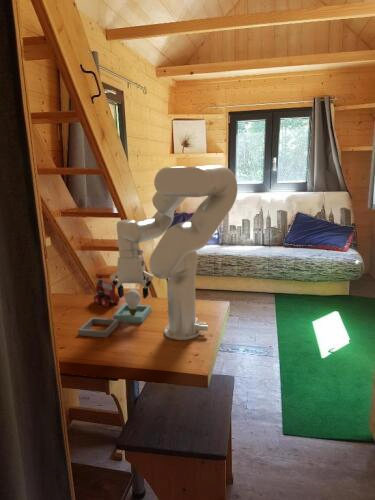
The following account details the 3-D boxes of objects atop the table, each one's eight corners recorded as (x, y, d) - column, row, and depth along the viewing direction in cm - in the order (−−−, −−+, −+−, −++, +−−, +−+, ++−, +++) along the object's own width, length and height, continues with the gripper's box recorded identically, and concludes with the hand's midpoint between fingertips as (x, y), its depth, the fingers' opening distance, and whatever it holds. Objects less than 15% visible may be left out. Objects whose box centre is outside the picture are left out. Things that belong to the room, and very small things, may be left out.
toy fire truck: (104, 297, 166) (102, 275, 163) (122, 304, 158) (120, 280, 155) (91, 302, 161) (89, 279, 158) (108, 309, 153) (106, 285, 150)
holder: (118, 324, 139) (118, 319, 138) (106, 337, 129) (106, 332, 128) (92, 322, 141) (91, 317, 141) (78, 335, 131) (78, 329, 131)
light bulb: (126, 318, 142) (125, 293, 139) (124, 312, 147) (123, 287, 145) (141, 316, 143) (141, 291, 141) (139, 310, 149) (138, 286, 146)
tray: (151, 311, 150) (151, 305, 149) (142, 323, 139) (141, 317, 138) (124, 309, 152) (124, 304, 151) (113, 321, 141) (113, 315, 141)
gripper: (154, 250, 141) (158, 294, 145) (111, 251, 145) (116, 293, 148) (148, 255, 134) (152, 301, 137) (103, 255, 138) (108, 299, 141)
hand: (133, 296), depth 143 cm, fingers open, 9 cm apart
